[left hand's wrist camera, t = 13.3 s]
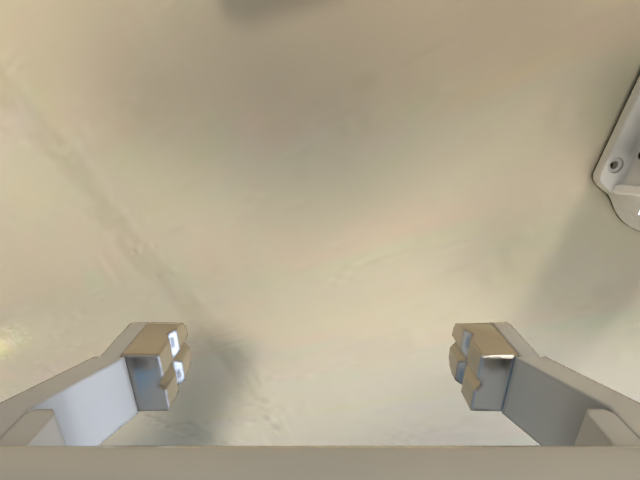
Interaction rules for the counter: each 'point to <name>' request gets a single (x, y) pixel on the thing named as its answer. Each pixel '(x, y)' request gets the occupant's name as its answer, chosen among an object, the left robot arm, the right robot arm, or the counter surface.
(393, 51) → the counter surface
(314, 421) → the counter surface
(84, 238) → the counter surface
